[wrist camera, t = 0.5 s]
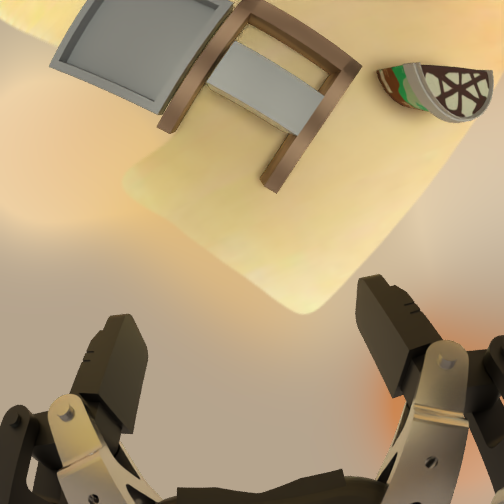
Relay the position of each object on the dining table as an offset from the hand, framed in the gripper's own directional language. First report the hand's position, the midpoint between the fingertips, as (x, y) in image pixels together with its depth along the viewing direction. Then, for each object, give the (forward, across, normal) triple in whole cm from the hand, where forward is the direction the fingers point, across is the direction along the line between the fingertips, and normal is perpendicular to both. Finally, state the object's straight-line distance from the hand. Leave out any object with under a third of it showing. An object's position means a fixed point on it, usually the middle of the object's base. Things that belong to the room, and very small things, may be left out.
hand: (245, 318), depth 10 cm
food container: (+25, -23, -7) cm, 35 cm away
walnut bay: (+25, -4, -8) cm, 26 cm away
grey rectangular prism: (+25, -4, -8) cm, 26 cm away
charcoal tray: (+24, +8, -18) cm, 31 cm away
